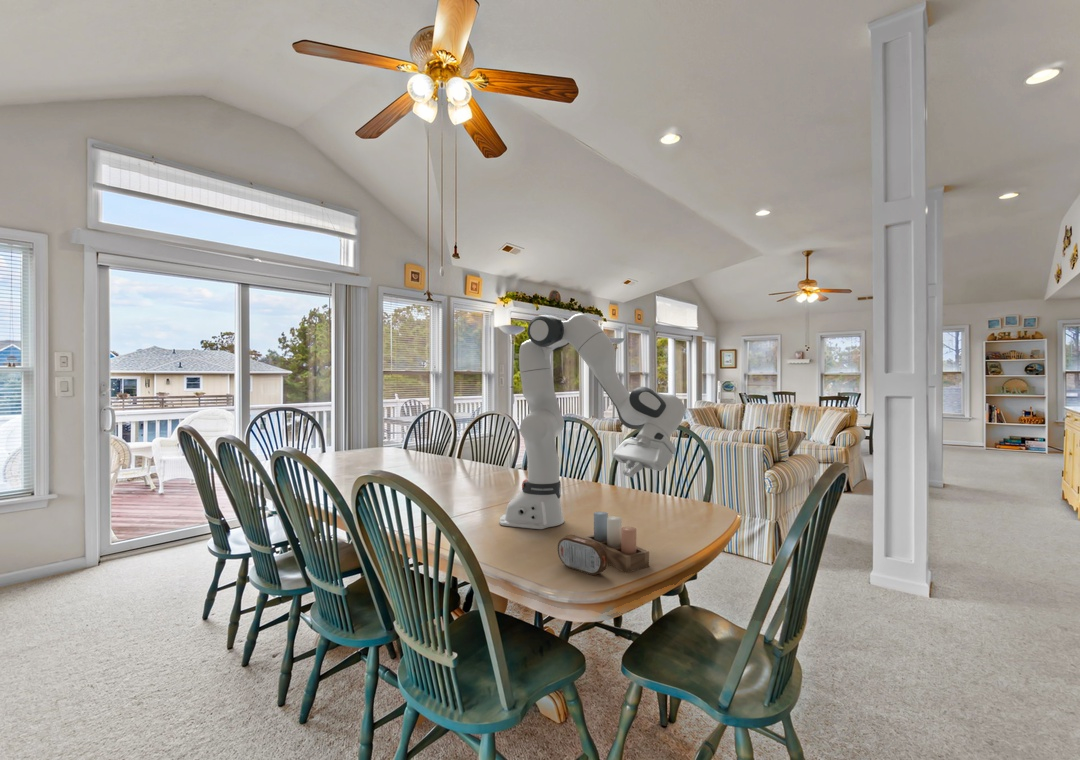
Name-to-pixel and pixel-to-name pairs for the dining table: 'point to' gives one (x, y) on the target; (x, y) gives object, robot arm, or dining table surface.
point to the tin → (582, 554)
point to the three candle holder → (625, 557)
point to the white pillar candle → (614, 531)
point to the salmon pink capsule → (628, 540)
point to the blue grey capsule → (600, 526)
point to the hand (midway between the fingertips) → (627, 475)
